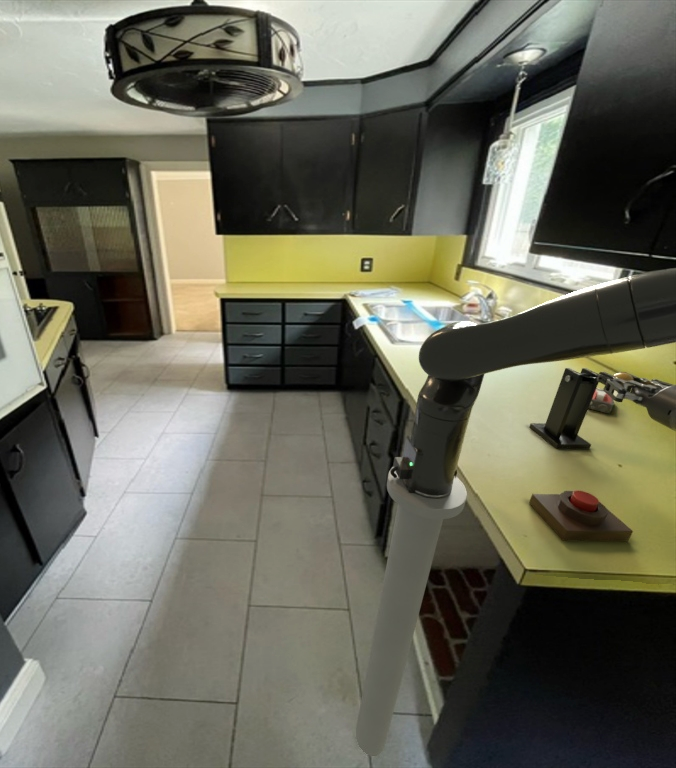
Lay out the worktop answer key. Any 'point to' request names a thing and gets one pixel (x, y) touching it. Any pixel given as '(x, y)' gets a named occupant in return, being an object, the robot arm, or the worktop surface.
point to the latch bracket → (568, 411)
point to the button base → (579, 519)
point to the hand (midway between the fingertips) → (610, 376)
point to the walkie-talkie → (601, 401)
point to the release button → (584, 501)
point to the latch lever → (623, 376)
